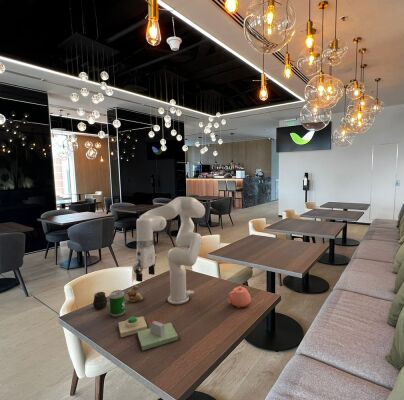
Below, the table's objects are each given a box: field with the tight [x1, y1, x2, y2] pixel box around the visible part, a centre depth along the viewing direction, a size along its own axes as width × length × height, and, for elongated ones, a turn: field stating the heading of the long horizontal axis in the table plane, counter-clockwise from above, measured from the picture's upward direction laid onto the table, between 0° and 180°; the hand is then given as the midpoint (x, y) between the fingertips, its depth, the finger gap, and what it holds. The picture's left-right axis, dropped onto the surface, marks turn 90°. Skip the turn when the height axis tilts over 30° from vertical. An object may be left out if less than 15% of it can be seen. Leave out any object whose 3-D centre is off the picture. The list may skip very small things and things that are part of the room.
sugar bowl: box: [227, 285, 252, 309], centre depth 152 cm, size 12×14×10 cm
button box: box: [118, 316, 148, 338], centre depth 130 cm, size 12×10×4 cm
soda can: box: [108, 289, 126, 318], centre depth 143 cm, size 8×8×12 cm
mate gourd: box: [92, 291, 108, 310], centre depth 150 cm, size 7×8×10 cm
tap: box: [149, 319, 165, 337], centre depth 122 cm, size 7×2×5 cm, turn 58°
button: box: [127, 315, 137, 323], centre depth 130 cm, size 4×4×2 cm
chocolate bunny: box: [126, 284, 144, 303], centre depth 158 cm, size 6×8×10 cm
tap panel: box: [136, 322, 179, 351], centre depth 123 cm, size 16×12×2 cm
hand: (145, 277), depth 130 cm, fingers open, 9 cm apart
